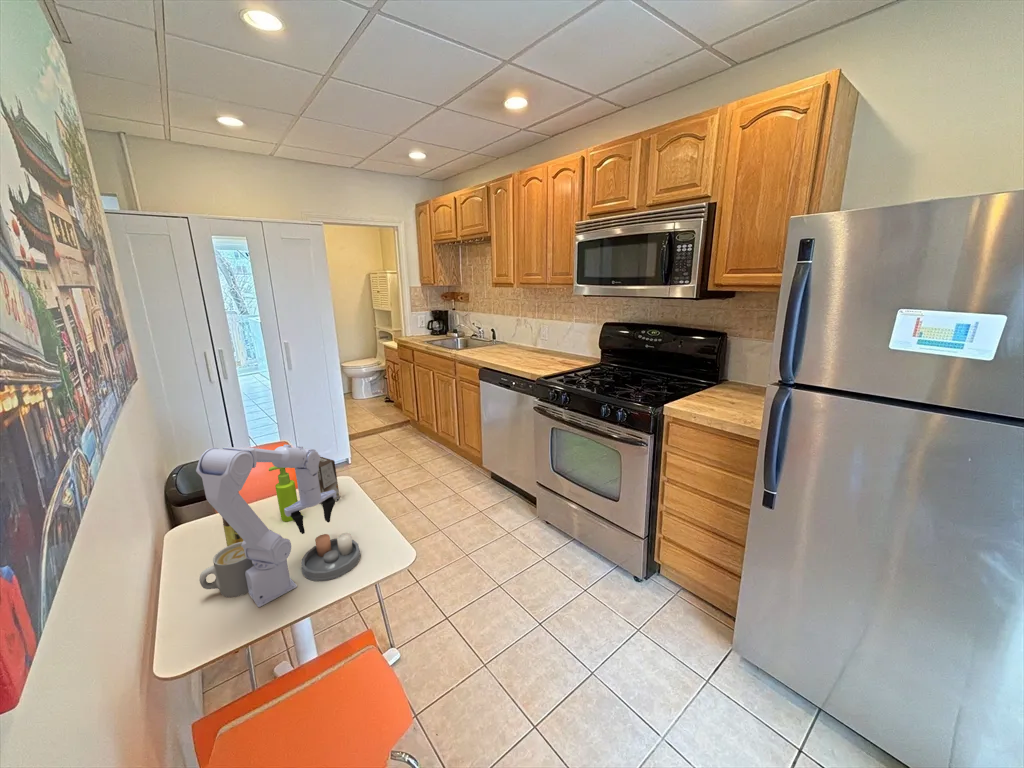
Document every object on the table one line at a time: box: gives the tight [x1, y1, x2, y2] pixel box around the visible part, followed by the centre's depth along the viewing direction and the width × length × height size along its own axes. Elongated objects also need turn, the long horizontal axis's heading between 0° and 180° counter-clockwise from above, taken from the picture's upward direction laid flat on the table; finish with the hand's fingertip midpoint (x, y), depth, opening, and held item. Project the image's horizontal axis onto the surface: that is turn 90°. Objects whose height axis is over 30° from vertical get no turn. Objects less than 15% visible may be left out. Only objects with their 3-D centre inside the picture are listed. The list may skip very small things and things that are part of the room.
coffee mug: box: [199, 542, 254, 598], centre depth 109 cm, size 13×10×10 cm
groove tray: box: [301, 537, 362, 582], centre depth 119 cm, size 16×16×2 cm
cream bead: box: [336, 532, 353, 556], centre depth 122 cm, size 4×4×5 cm
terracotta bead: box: [314, 533, 332, 557], centre depth 122 cm, size 4×4×5 cm
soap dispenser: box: [268, 465, 299, 523], centre depth 140 cm, size 6×7×20 cm
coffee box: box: [318, 456, 341, 505], centre depth 152 cm, size 9×6×16 cm
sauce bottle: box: [221, 491, 243, 547], centre depth 123 cm, size 7×6×20 cm
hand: (315, 526), depth 123 cm, fingers open, 7 cm apart
